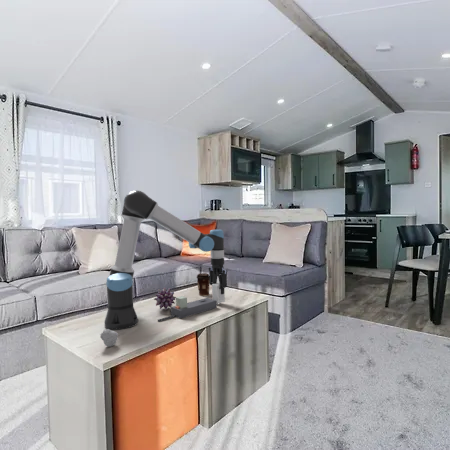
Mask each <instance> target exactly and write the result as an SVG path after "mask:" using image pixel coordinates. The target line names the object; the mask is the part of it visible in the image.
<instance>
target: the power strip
mask: <svg viewBox="0 0 450 450" xmlns="http://www.w3.org/2000/svg"><path fill="white" fill-rule="evenodd" d="M217 308H218V307H217V302H216V300H213V299H212V298H209V297H205V298H200V299H197V300H193V301H190V302H187V307H186V308H182V309H180V307H179V306H176V305H175V306H171V308H170V316H169V315H168V316H166V317H161V318H158V319H157V322H158V323H159V322H163V321H167V320H169V319H174V318H178V319H183V318H186V317H190V316H193V315H197V314H201V313H204V312H207V311H211V310H214V309H217Z"/></svg>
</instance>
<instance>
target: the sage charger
mask: <svg viewBox="0 0 450 450" xmlns="http://www.w3.org/2000/svg"><path fill="white" fill-rule="evenodd" d="M175 297H176V296H175ZM187 303H188V297H186V296H183V295H181V296H177V297H176V298H175V306H179V307H180V309H182V308H186V307H187Z"/></svg>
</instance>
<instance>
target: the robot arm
mask: <svg viewBox="0 0 450 450" xmlns="http://www.w3.org/2000/svg"><path fill="white" fill-rule="evenodd" d="M121 216H122V218H123V222H122V223H123V224H122V227H121V233H120V237H119V243H118V248H117V252H116V258H115V262H114V265H113V266H111V267H110V272H109V276H108V277H107V278H106V282H105V284H106V293H107V294H106V295H107V298H106V299H107V311H106V315H105V318H104V327H105V328H106V329H109V330H125V329H129V328H131V327H134V326H136V325H137V324H138V323H139V321H138V320H139V317H138V315H137V312H136V309H135V307H134V291H133V290H134V289H133V288H134V287H133V283H134V281H133V280H134V275H135V269H134V268H133V266H134V265H133V264H134V258H135V254H136V253H135V252H136V249H137V244H138V238H139V235H140V234H139V233H140V230H141V229H140V228H141V223H142V221H145V220H150V221H152V222H154V223H156V224H157V225H159V226H160V227H163V228H164V229H166V230H168V231H169V232H171V233H172V234H175V235H176V236H178V237H179V238H180V239H183V240H184V241H186V242H187V243H188V247H189V248H190V249H198V250H201V251H203V252H210V265H211V266H210V267H208V274H209V279H210V283H209V286H212V284H215V283H219V284H220V288H219V300H223V299H224V289H225V288H228V269H225V268H224V265H225V238H224V237H225V235H224V230H223V229H211V230H210V231H209V233H203V232H201V231H199V230H198V229H197V228H195V227H193V226H191V225H190V224H189V223H187V222H185V221H184V220H182V219H181V218H179V217H177V216H176V215H174V214H173V213H171V212H169V211H167V210H166V209H165V208H163V207H161V206H159V204H158V202H157V201H155V200H154V199H152V198H151V197H149V195H147V194H146V193H145V192H143V191H142V190H138V189H137V190H132V191H130V192H129V193H127V194H126V195H125V196H124V200H123V206H122V211H121Z"/></svg>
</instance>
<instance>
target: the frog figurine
mask: <svg viewBox="0 0 450 450" xmlns="http://www.w3.org/2000/svg"><path fill="white" fill-rule="evenodd" d="M118 335H119V334H118V332H117V331H114V330H112V329H108V328H106V329H103V330H102V332H101V333H99V336H100V339H101V340H102V341H103V344H104V345H105V346H106V347H108V348H110V347H113V346H115V344H116V343H117V341H118V338H119V337H118Z"/></svg>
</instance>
